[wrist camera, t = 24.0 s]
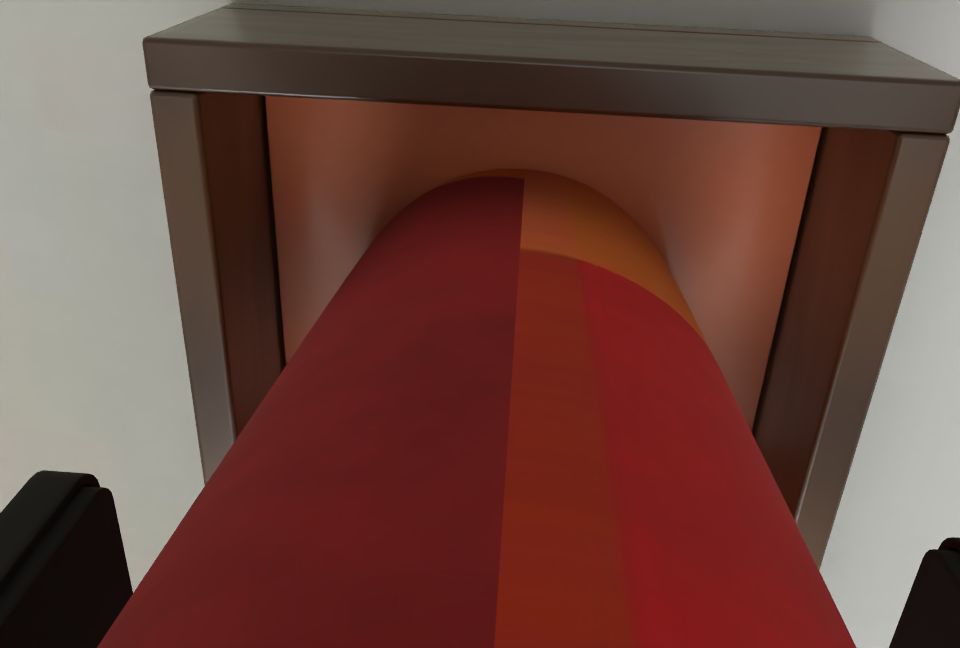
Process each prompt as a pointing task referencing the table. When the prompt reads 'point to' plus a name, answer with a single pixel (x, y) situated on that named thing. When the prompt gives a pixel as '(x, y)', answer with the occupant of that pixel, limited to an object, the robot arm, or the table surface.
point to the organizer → (565, 152)
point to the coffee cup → (493, 459)
